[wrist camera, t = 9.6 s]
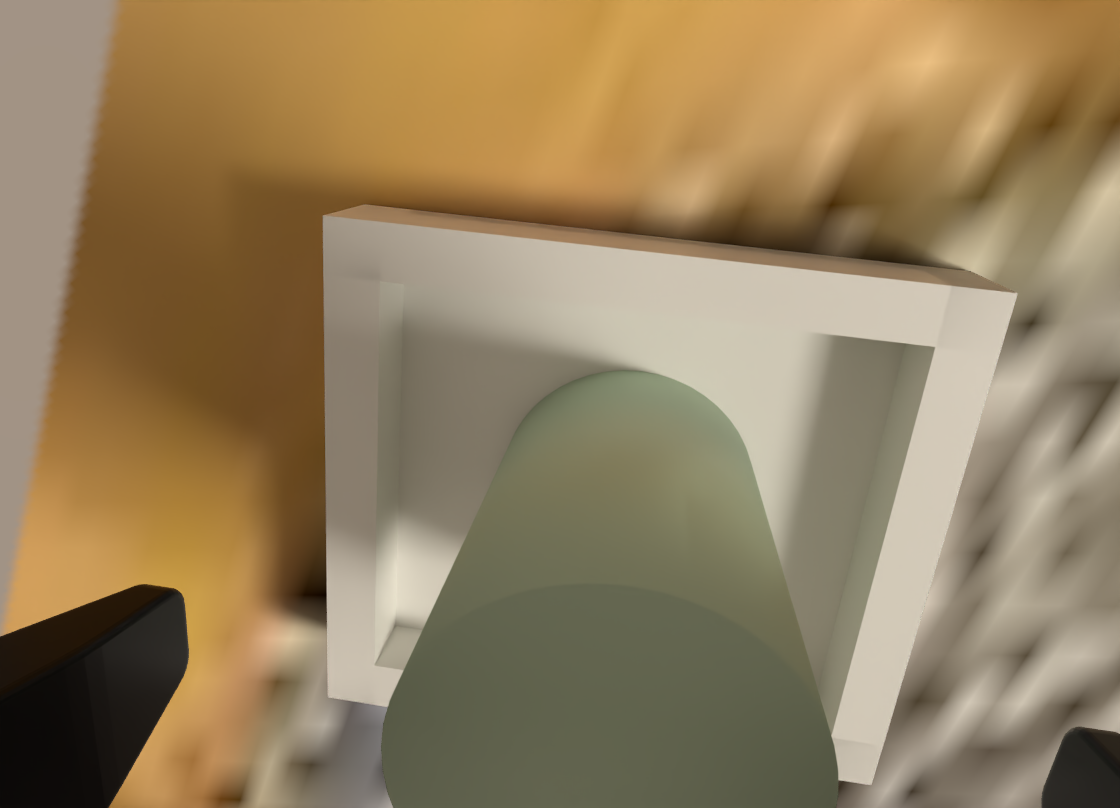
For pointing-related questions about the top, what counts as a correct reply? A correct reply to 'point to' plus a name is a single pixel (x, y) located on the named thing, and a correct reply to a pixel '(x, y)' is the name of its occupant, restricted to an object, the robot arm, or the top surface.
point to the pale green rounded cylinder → (614, 625)
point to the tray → (669, 350)
